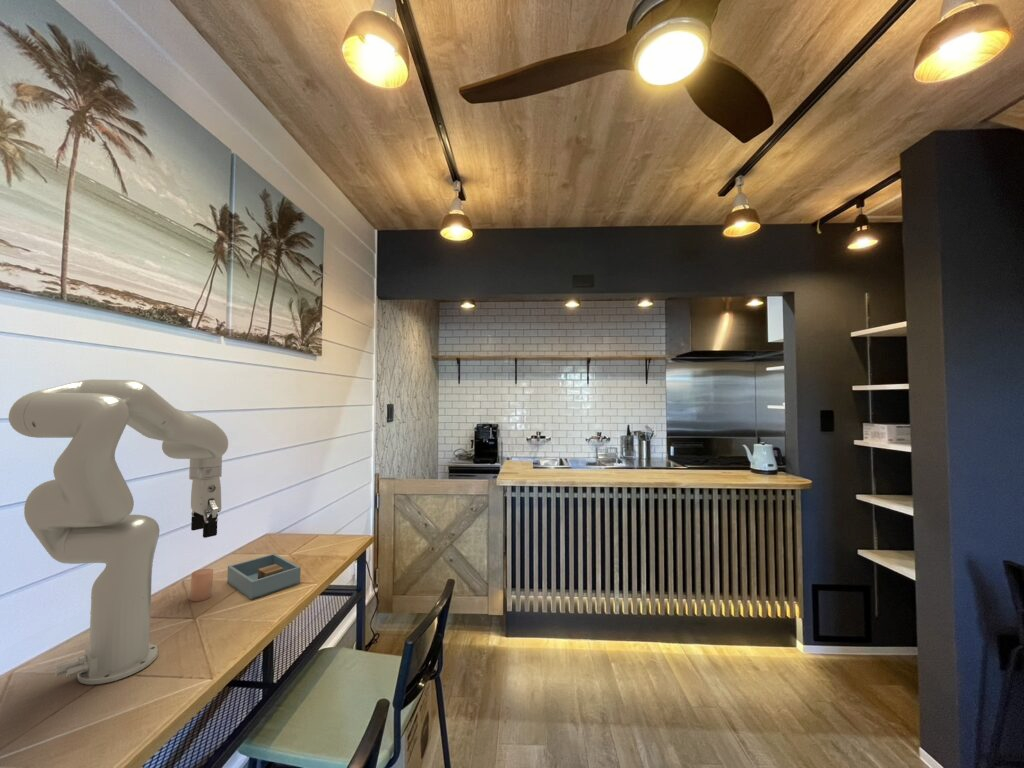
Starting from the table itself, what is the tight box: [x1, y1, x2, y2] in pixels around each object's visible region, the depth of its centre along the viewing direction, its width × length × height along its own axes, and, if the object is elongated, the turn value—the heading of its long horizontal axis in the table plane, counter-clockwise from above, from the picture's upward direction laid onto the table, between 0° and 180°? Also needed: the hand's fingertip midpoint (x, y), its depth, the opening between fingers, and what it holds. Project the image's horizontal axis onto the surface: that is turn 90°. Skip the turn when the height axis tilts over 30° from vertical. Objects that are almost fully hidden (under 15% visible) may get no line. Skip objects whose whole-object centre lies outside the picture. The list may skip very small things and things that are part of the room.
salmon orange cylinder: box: [189, 568, 214, 602], centre depth 121 cm, size 5×5×7 cm
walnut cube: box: [258, 564, 283, 579], centre depth 127 cm, size 5×5×5 cm
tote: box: [226, 553, 302, 601], centre depth 130 cm, size 14×18×5 cm
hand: (203, 532), depth 121 cm, fingers open, 9 cm apart
